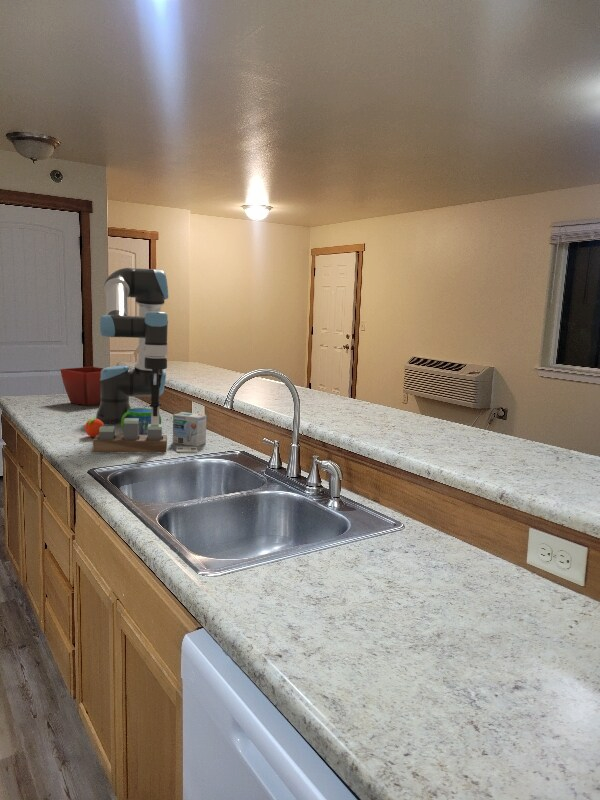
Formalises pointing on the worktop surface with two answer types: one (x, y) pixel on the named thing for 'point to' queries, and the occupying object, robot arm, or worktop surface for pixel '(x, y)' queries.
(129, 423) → the button mid
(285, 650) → the worktop surface
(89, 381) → the plant pot
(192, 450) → the card
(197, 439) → the light bulb box
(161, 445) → the button board
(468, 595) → the worktop surface
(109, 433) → the button near
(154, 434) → the button far
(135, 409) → the snack cup
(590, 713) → the worktop surface
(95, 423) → the tomato
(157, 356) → the robot arm
